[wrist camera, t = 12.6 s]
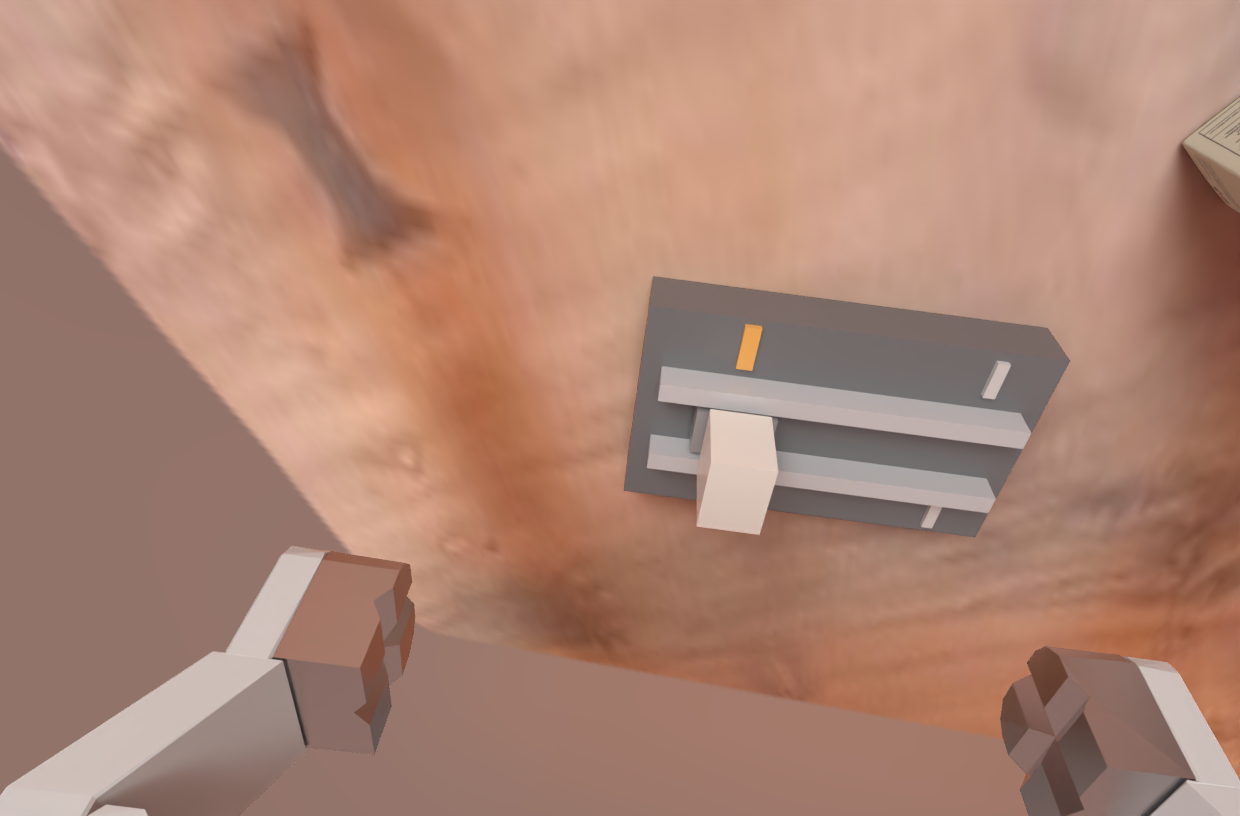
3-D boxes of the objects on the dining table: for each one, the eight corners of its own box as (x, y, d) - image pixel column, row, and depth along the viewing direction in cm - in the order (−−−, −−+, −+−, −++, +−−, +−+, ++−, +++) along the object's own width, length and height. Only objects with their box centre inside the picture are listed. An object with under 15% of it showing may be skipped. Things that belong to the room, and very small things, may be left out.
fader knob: (779, 396, 39) (789, 473, 35) (762, 456, 42) (769, 536, 37) (699, 386, 39) (699, 461, 35) (687, 447, 42) (686, 525, 37)
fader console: (1047, 328, 39) (1083, 380, 36) (961, 500, 47) (983, 558, 43) (653, 276, 40) (648, 323, 36) (627, 456, 47) (621, 510, 43)
